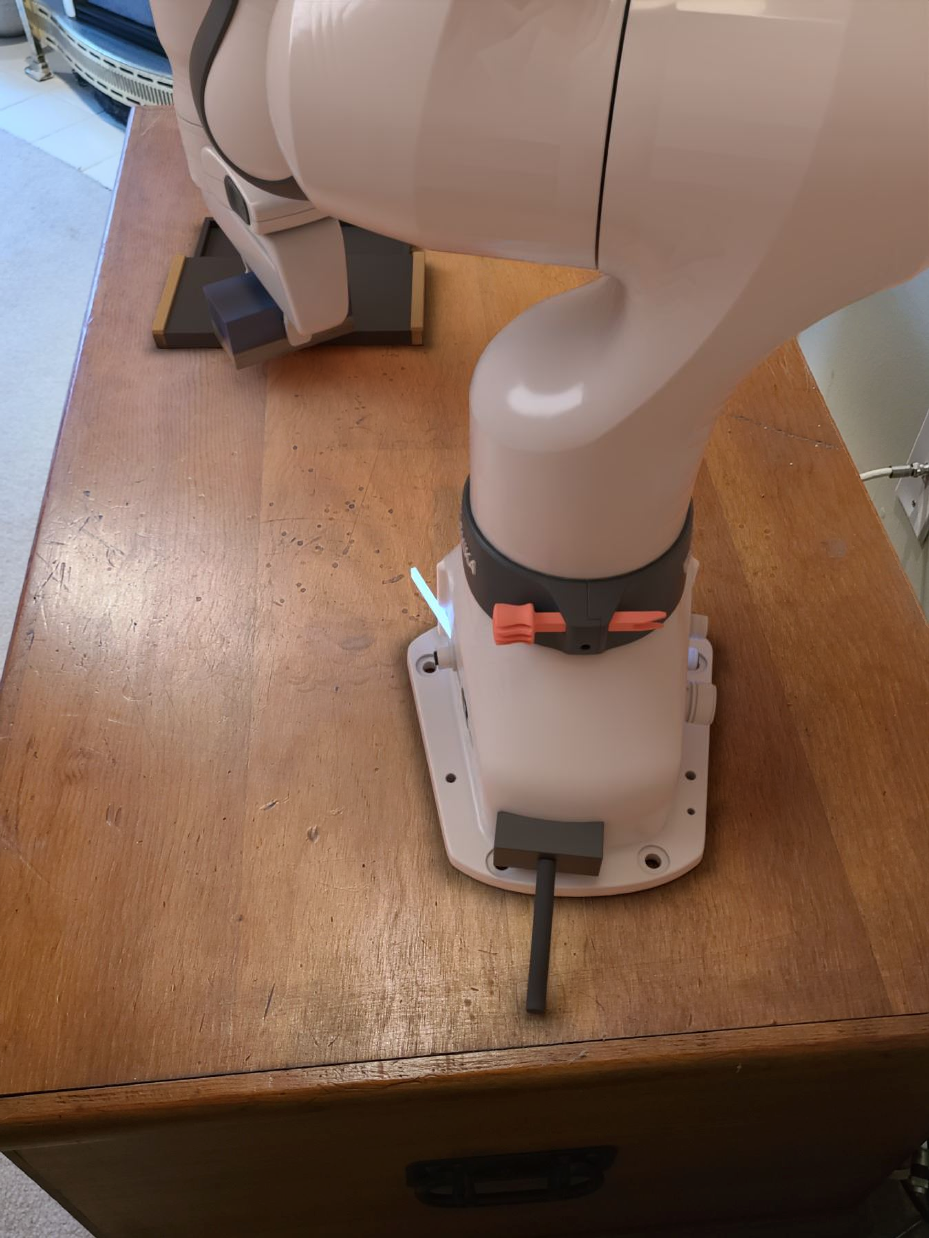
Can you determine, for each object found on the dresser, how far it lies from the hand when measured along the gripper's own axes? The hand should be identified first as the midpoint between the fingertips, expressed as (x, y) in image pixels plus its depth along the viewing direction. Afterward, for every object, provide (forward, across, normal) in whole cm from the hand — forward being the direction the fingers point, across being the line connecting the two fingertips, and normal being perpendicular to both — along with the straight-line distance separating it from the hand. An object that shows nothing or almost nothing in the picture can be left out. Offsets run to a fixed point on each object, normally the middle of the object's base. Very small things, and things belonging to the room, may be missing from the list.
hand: (282, 318), depth 77 cm
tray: (+4, -14, +8) cm, 16 cm away
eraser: (+2, 0, 0) cm, 2 cm away
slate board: (+4, -6, +3) cm, 8 cm away
